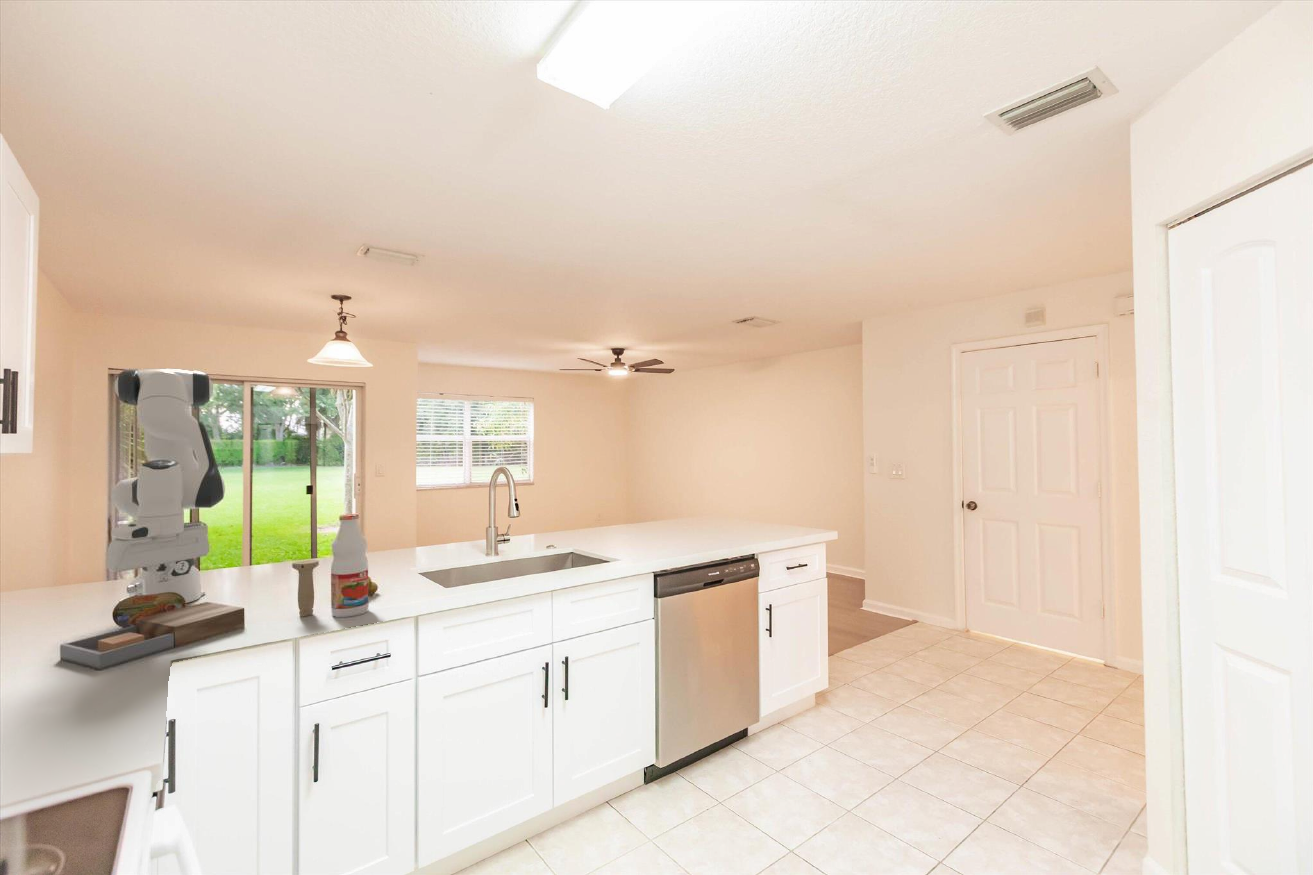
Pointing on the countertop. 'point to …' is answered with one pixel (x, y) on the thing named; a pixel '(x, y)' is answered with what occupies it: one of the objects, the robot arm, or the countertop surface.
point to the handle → (305, 585)
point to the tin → (145, 607)
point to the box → (89, 656)
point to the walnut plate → (192, 622)
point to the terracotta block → (119, 641)
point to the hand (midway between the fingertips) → (161, 581)
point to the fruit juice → (349, 569)
